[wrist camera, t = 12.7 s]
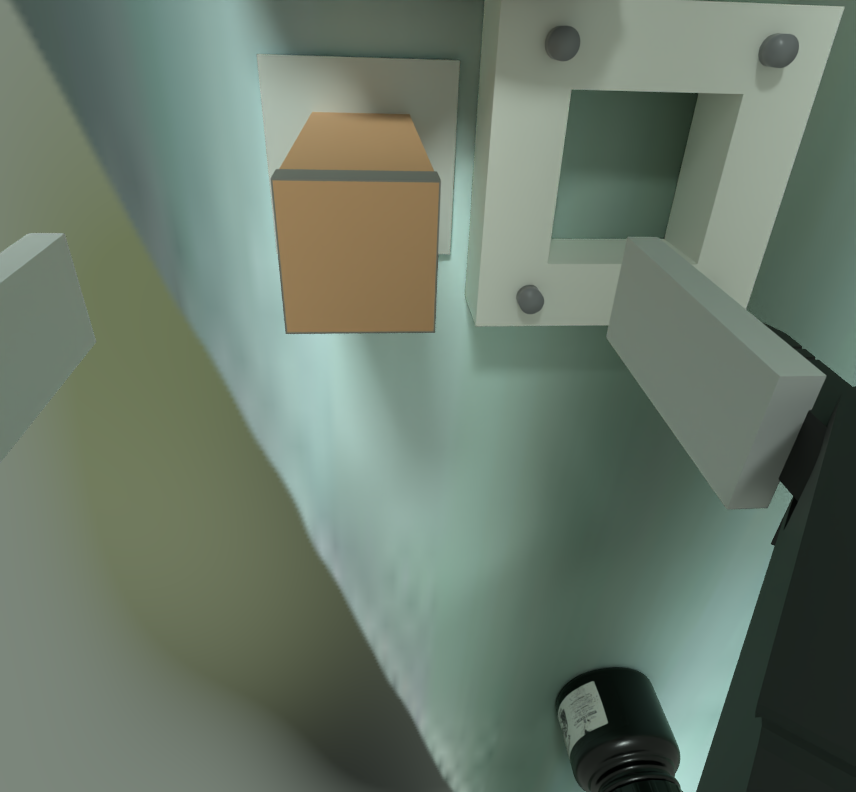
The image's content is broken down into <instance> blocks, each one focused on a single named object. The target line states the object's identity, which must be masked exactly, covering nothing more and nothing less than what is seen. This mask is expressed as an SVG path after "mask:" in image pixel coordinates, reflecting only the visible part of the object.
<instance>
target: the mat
mask: <svg viewBox="0 0 856 792" xmlns="http://www.w3.org/2000/svg"><path fill="white" fill-rule="evenodd" d="M257 62H258V72H259V82H260V92H261V102H262V112H263V122H264V132H265V142H266V152H267V162H268V172H269V182H270V192H271V202H272V212H273V222H274V232H275V242H276V252H277V254H278V250H277V240H276V230H275V220H274V210H273V200H272V190H271V180H270V178H271V177H272V175H273V173H274V172H275V170H276V169H279V168H280V167H281V165H282V163H283V161H284V160H285V158H286V156H287V154H288V153H289V151H290V149H291V147H292V146H293V144H294V142H295V141H296V139H297V137H298V135H299V134H300V132H301V130H302V128H303V127H304V125H305V123H306V122H307V120H308V118H309V116H310V115H311V113H312V112H337V113H380V114H410V117H411V119H412V121H413V124H414V126H415V128H416V130H417V133H418V135H419V137H420V140H421V142H422V144H423V146H424V149H425V151H426V153H427V156H428V158H429V160H430V163H431V165H432V167H433V169H434V171H437V173H438V175H439V177H440V179H441V196H440V221H439V245H438V254H450V245H451V226H452V206H453V187H454V167H455V148H456V128H457V109H458V89H459V70H460V60H440V59H408V58H376V57H343V56H311V55H278V54H257Z"/></svg>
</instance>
